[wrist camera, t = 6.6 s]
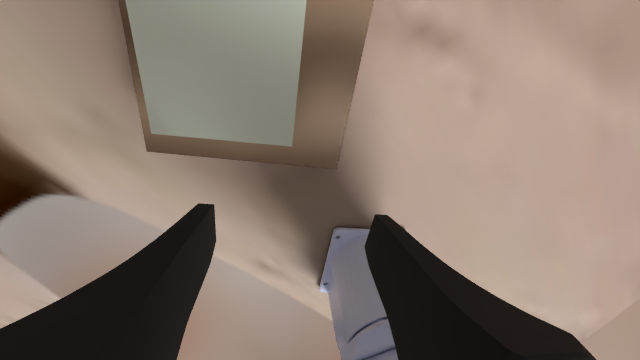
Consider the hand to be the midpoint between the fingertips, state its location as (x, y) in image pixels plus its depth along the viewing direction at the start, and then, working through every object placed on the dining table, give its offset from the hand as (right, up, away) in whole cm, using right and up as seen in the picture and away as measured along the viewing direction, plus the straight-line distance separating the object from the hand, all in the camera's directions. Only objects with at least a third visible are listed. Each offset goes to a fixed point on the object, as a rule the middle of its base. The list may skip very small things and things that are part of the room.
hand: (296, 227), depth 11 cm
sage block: (-3, +9, +2) cm, 9 cm away
